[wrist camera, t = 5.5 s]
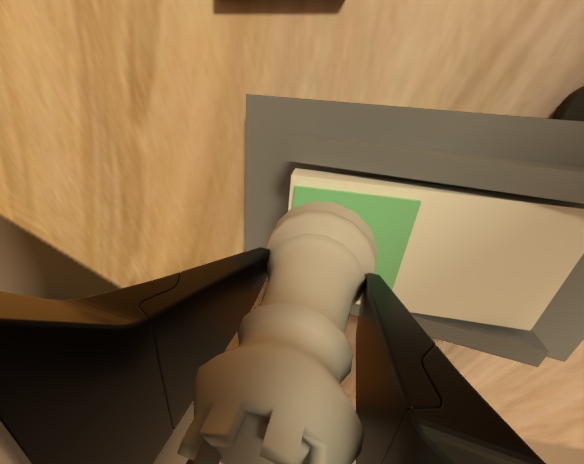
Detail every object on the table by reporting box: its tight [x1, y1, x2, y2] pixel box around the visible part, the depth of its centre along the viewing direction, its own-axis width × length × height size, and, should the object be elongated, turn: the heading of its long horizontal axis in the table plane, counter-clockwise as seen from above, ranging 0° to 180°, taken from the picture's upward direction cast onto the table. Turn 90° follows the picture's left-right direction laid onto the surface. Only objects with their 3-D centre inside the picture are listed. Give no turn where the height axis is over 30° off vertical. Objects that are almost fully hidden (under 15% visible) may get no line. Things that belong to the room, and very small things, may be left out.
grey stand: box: [245, 94, 584, 367], centre depth 13 cm, size 20×12×4 cm, turn 84°
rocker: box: [288, 168, 584, 331], centre depth 11 cm, size 12×6×2 cm, turn 84°
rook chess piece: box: [178, 201, 377, 464], centre depth 7 cm, size 4×4×8 cm
